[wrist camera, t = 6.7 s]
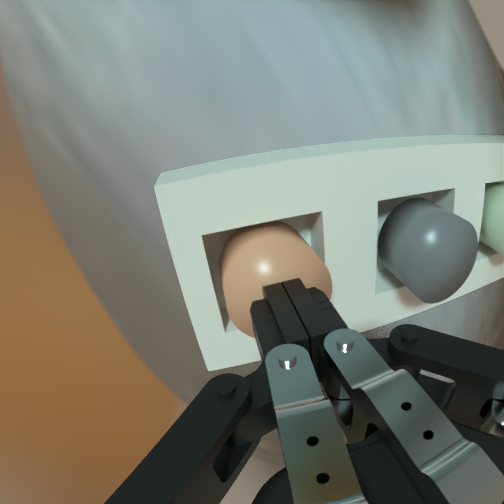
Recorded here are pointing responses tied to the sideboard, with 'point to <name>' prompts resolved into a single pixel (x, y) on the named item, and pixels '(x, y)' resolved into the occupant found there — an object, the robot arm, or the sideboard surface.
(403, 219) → the charcoal button
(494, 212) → the sage button
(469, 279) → the button board
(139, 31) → the sideboard surface
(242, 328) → the terracotta button
